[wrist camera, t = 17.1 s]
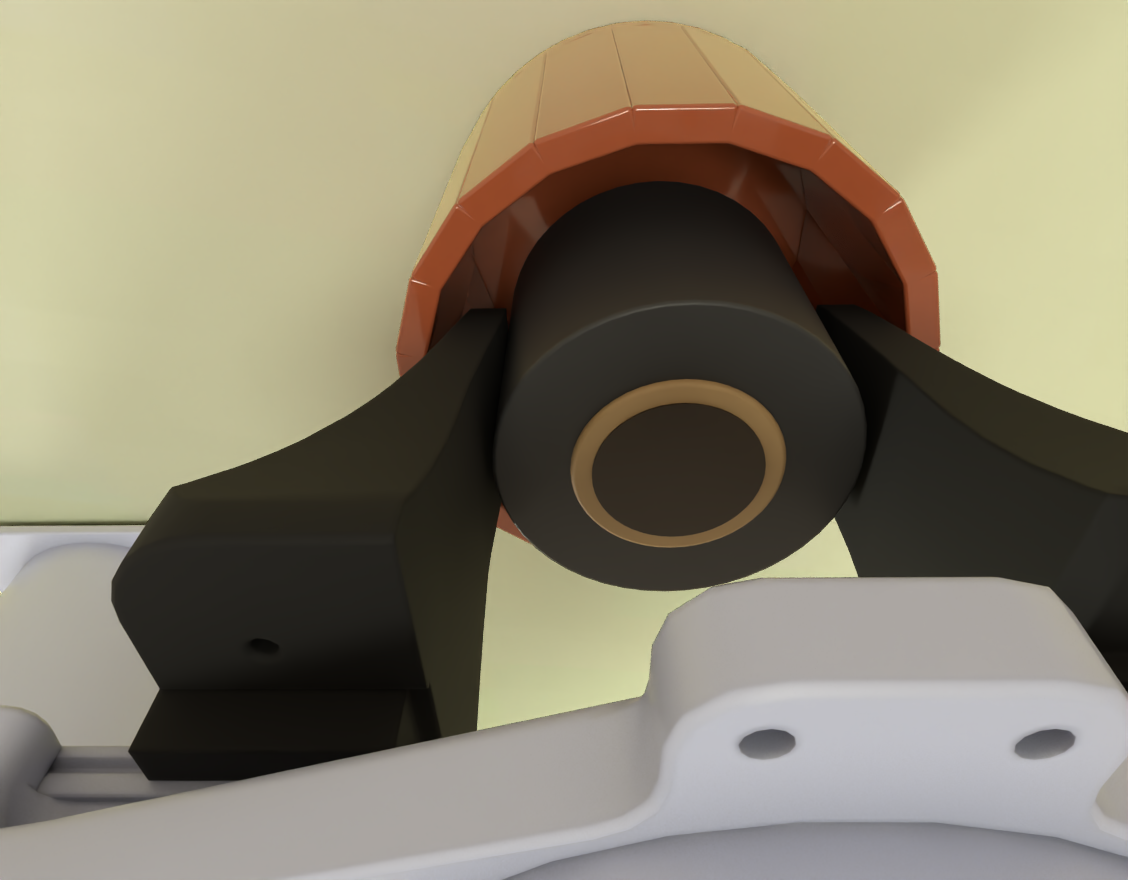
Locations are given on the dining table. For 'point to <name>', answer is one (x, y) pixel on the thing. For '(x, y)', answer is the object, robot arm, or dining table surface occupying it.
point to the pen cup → (662, 178)
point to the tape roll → (670, 395)
